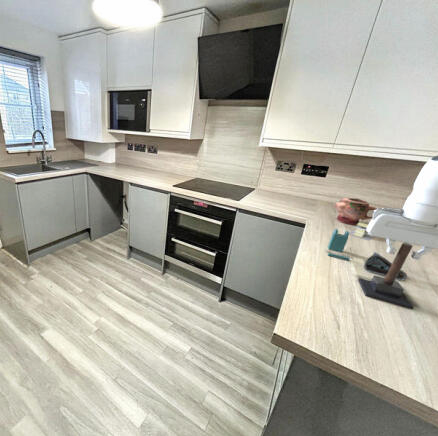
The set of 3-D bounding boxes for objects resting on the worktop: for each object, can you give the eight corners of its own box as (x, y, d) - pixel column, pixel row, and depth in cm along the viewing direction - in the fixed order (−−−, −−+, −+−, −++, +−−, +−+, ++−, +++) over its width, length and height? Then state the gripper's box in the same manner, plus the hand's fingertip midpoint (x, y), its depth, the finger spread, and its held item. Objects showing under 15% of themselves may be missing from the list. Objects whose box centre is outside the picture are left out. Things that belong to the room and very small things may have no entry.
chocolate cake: (402, 274, 89) (380, 246, 92) (410, 278, 83) (387, 248, 86) (372, 283, 93) (353, 256, 96) (378, 288, 87) (357, 258, 90)
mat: (399, 291, 78) (400, 288, 78) (412, 309, 70) (414, 306, 70) (357, 280, 83) (358, 277, 83) (365, 295, 75) (366, 293, 75)
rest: (343, 250, 104) (351, 231, 101) (348, 260, 96) (357, 240, 93) (324, 246, 108) (331, 227, 104) (328, 255, 99) (335, 236, 96)
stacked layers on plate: (368, 240, 116) (373, 230, 114) (346, 233, 123) (350, 223, 121) (375, 236, 121) (379, 226, 119) (353, 230, 128) (357, 220, 126)
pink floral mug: (372, 225, 137) (382, 202, 132) (372, 230, 129) (383, 206, 124) (331, 215, 149) (338, 194, 144) (328, 220, 141) (336, 198, 136)
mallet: (394, 259, 81) (423, 244, 68) (392, 300, 76) (422, 292, 64) (372, 254, 83) (395, 238, 71) (368, 293, 79) (393, 284, 66)
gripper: (379, 208, 68) (361, 250, 73) (485, 224, 59) (456, 271, 64) (373, 203, 74) (356, 242, 79) (469, 217, 65) (443, 260, 70)
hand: (402, 255), depth 71 cm, fingers open, 4 cm apart
